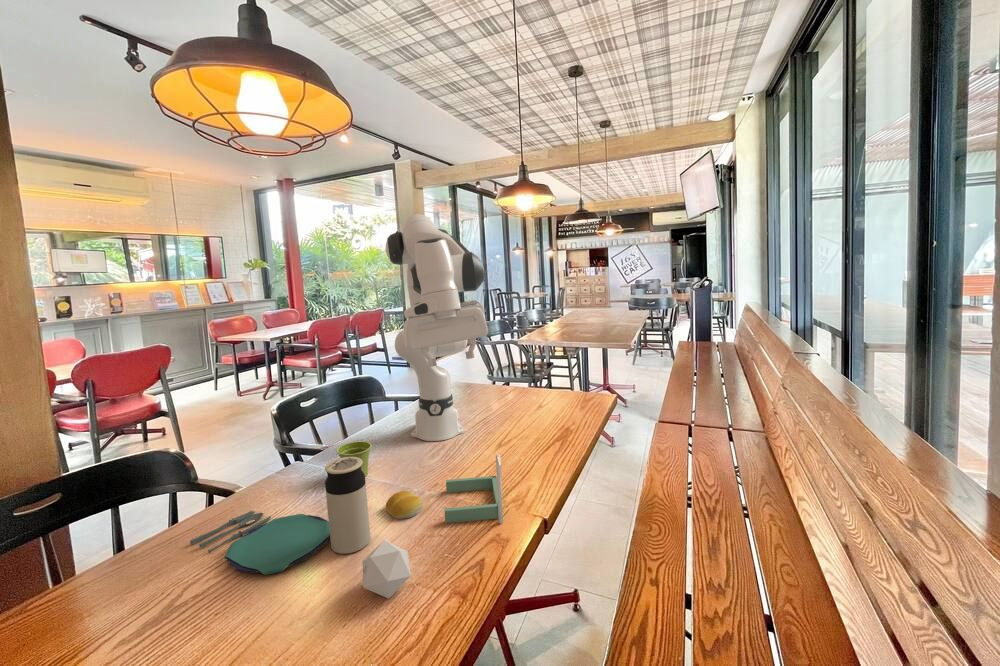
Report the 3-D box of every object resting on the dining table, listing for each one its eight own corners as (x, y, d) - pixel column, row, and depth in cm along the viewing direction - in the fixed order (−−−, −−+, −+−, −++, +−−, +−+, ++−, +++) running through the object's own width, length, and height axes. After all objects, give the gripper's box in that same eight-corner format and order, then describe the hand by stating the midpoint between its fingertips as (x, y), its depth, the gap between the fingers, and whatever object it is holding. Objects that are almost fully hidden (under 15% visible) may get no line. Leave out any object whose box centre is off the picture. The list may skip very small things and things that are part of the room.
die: (380, 571, 86) (349, 549, 80) (417, 548, 86) (389, 524, 80) (383, 613, 79) (349, 592, 73) (424, 587, 79) (393, 565, 73)
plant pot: (380, 471, 128) (378, 443, 127) (357, 486, 120) (355, 456, 118) (356, 466, 132) (353, 439, 131) (332, 480, 124) (329, 451, 122)
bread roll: (399, 524, 101) (397, 508, 100) (381, 509, 107) (380, 494, 107) (430, 510, 106) (429, 495, 105) (411, 497, 113) (410, 483, 112)
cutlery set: (271, 592, 81) (270, 581, 80) (179, 551, 94) (178, 542, 94) (351, 533, 98) (350, 524, 98) (264, 506, 112) (263, 498, 111)
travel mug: (377, 535, 96) (371, 457, 94) (354, 558, 89) (347, 474, 86) (347, 530, 99) (340, 454, 96) (323, 551, 91) (314, 470, 89)
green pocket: (446, 490, 115) (443, 432, 113) (496, 486, 116) (494, 428, 114) (444, 541, 93) (440, 470, 91) (505, 535, 94) (503, 465, 92)
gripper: (477, 300, 111) (486, 354, 111) (397, 312, 103) (407, 370, 103) (486, 297, 105) (496, 353, 106) (402, 310, 97) (413, 371, 97)
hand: (452, 362), depth 104 cm, fingers open, 8 cm apart
